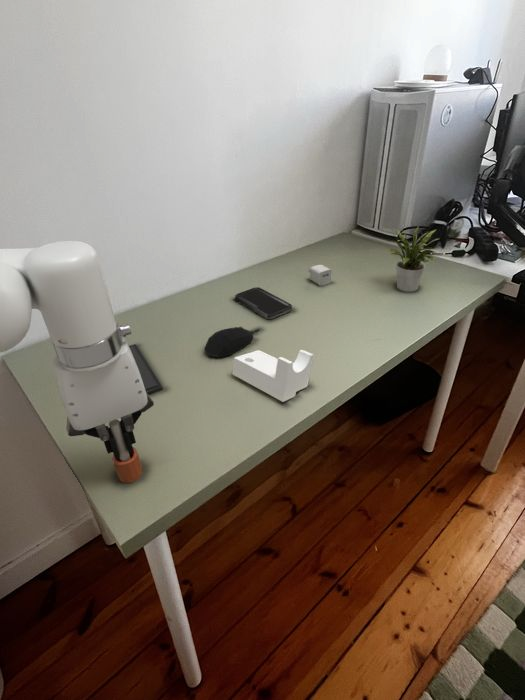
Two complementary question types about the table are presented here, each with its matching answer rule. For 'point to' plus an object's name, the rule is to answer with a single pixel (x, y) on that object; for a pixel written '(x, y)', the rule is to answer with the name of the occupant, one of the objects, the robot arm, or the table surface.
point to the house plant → (412, 261)
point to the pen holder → (128, 468)
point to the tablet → (145, 371)
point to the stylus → (119, 440)
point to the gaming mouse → (228, 341)
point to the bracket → (274, 373)
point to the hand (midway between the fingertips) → (122, 449)
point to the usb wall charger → (320, 274)
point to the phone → (263, 303)
